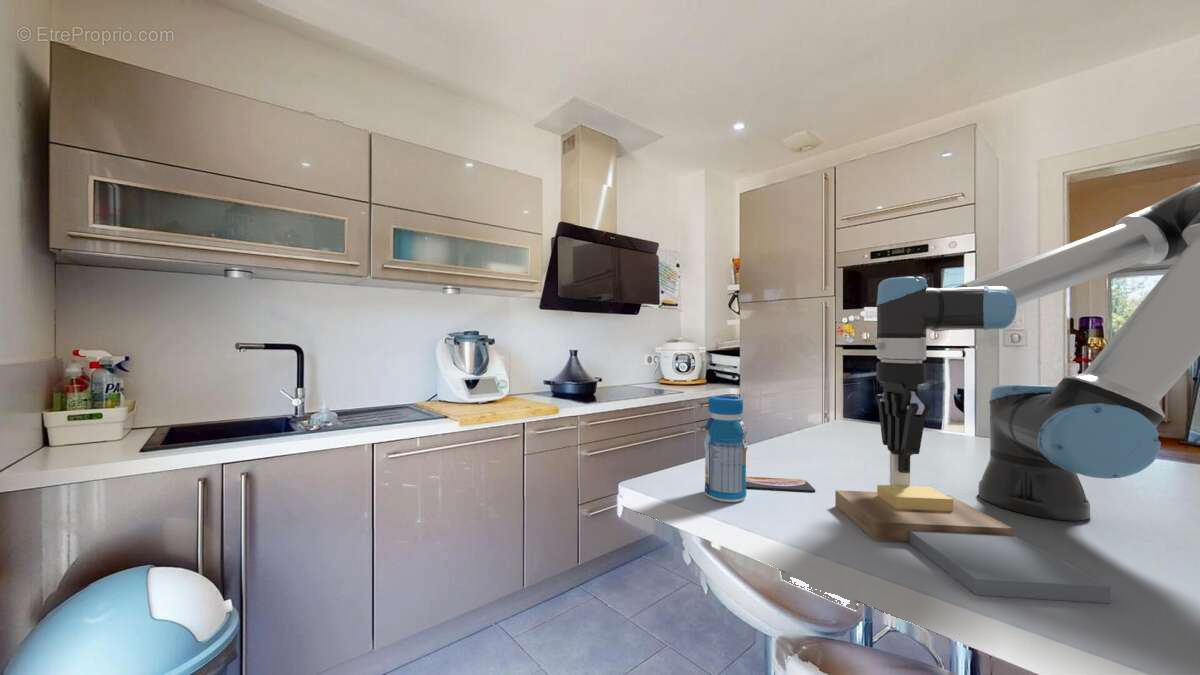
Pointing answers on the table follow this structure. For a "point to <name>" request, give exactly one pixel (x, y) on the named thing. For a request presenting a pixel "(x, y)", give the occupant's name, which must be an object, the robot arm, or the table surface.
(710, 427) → the beverage bottle
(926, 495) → the tile
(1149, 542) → the table surface
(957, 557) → the mat
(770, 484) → the smartphone
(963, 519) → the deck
